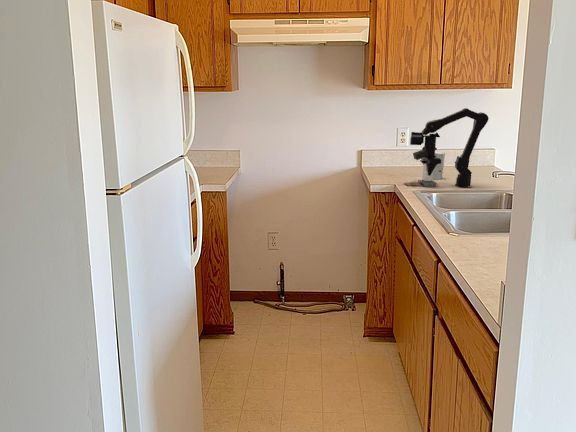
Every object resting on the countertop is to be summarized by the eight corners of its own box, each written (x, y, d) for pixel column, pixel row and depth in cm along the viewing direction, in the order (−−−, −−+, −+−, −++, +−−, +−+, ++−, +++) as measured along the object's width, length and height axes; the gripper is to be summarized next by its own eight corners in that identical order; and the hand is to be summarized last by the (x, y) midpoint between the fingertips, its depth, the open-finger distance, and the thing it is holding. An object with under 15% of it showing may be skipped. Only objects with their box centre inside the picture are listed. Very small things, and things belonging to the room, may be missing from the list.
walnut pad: (416, 183, 303) (416, 182, 303) (421, 186, 296) (421, 184, 296) (404, 183, 302) (404, 182, 302) (408, 186, 295) (408, 185, 295)
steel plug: (429, 179, 302) (430, 163, 300) (432, 181, 298) (433, 164, 296) (422, 179, 301) (423, 163, 299) (425, 181, 297) (426, 164, 295)
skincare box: (426, 178, 319) (428, 152, 315) (428, 176, 324) (430, 151, 320) (441, 179, 315) (443, 153, 312) (443, 178, 321) (445, 152, 317)
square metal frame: (430, 183, 305) (430, 179, 304) (436, 186, 297) (436, 182, 296) (417, 183, 304) (418, 179, 303) (423, 186, 296) (423, 182, 295)
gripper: (408, 143, 303) (407, 172, 307) (422, 147, 285) (419, 178, 289) (428, 143, 304) (426, 171, 308) (442, 147, 286) (440, 177, 290)
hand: (427, 174), depth 299 cm, fingers closed on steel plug, 4 cm apart
